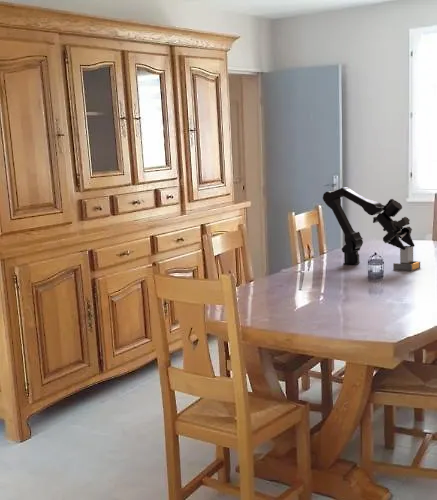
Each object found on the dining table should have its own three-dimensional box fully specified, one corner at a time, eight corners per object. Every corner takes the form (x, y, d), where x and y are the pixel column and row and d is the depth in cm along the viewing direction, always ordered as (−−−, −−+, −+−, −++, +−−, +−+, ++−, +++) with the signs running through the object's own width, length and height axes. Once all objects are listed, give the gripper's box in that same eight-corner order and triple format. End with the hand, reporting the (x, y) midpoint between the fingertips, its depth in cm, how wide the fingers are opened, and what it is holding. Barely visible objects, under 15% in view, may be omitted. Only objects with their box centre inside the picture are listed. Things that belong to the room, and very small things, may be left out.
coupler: (393, 269, 307) (393, 263, 306) (402, 266, 313) (402, 260, 313) (411, 271, 301) (411, 265, 300) (420, 268, 307) (420, 261, 307)
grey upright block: (400, 268, 307) (400, 246, 305) (405, 266, 310) (405, 245, 308) (408, 269, 304) (408, 247, 302) (413, 267, 307) (413, 245, 306)
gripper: (388, 214, 299) (411, 239, 293) (408, 209, 312) (430, 233, 306) (373, 230, 305) (395, 255, 300) (393, 225, 319) (414, 249, 313)
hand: (409, 247), depth 304 cm, fingers open, 8 cm apart
